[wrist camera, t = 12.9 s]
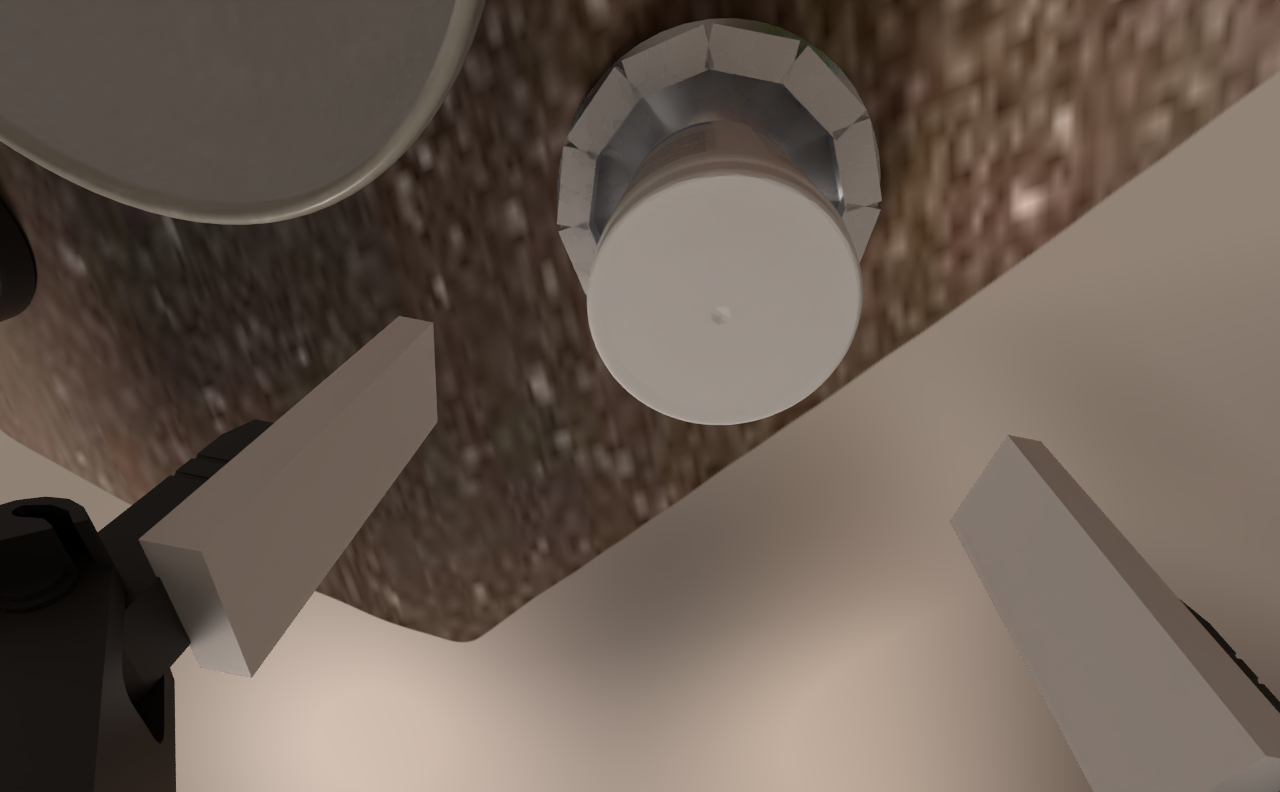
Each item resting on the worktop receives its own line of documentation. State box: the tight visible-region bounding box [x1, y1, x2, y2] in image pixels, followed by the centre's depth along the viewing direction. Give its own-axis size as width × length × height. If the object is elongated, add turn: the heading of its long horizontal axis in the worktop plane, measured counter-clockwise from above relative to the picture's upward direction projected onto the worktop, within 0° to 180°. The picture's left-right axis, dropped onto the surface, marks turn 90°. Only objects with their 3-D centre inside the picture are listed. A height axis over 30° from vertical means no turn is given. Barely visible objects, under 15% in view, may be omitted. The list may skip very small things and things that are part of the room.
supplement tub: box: [587, 120, 863, 425], centre depth 24 cm, size 10×10×15 cm
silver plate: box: [557, 18, 882, 296], centre depth 31 cm, size 18×18×2 cm
